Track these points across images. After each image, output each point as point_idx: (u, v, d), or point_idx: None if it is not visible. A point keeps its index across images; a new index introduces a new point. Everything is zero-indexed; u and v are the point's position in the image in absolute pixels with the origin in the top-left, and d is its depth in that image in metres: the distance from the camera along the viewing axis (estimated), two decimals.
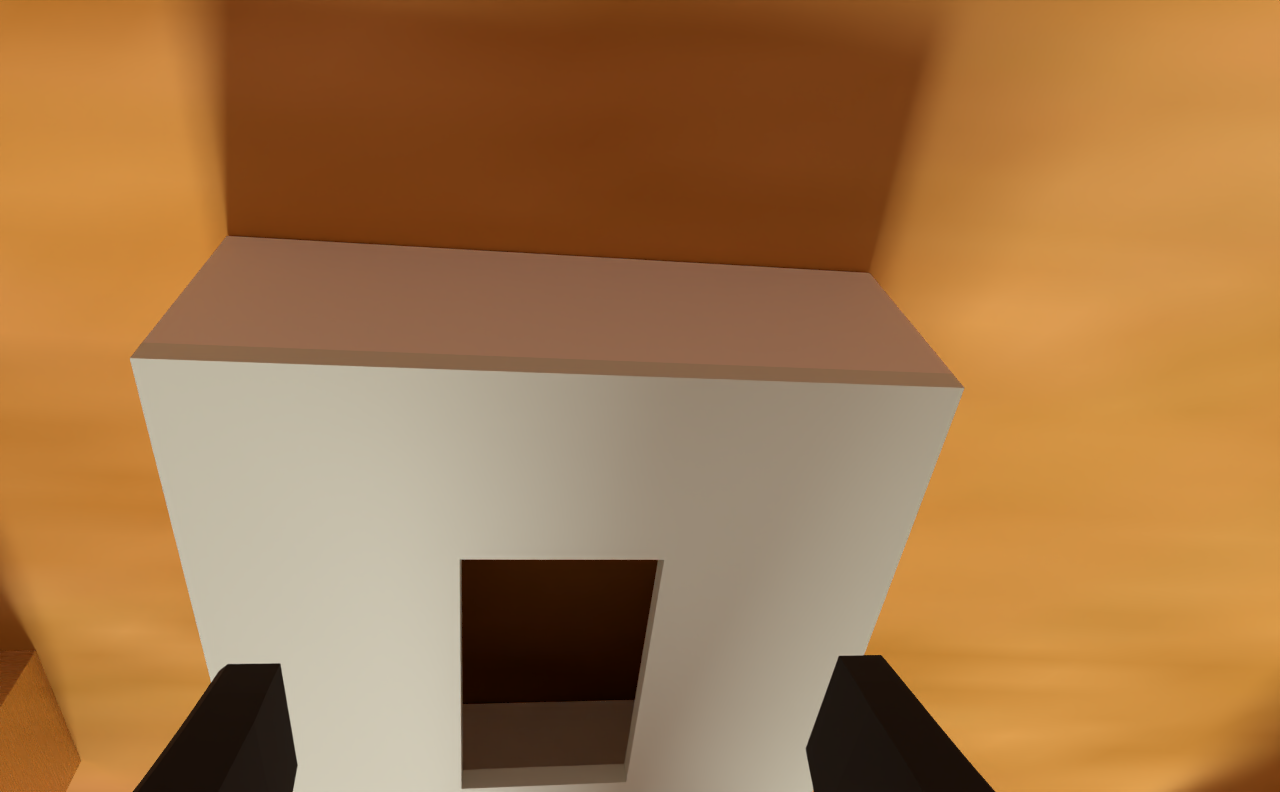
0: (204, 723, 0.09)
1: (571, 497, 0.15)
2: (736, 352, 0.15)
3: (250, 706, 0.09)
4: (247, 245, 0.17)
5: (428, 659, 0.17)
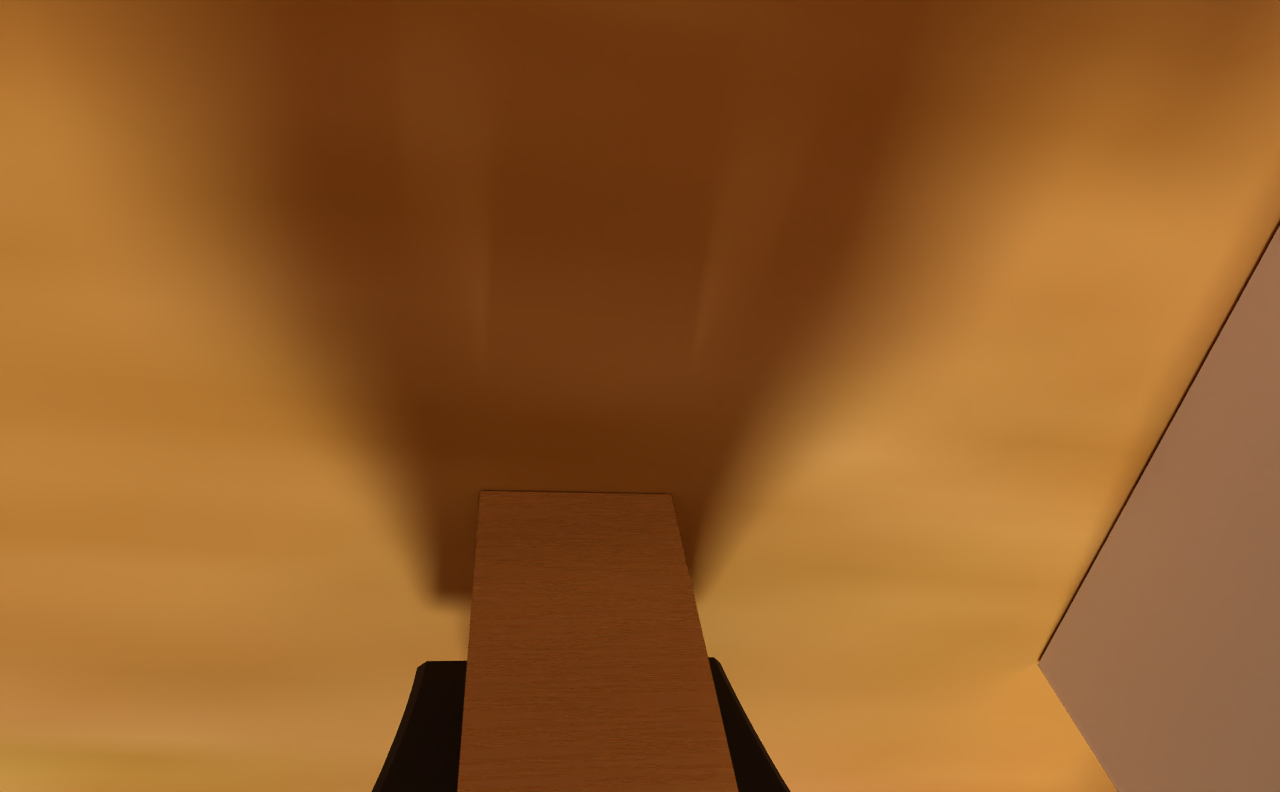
0: (424, 718, 0.09)
1: None
2: None
3: (462, 701, 0.09)
4: None
5: None
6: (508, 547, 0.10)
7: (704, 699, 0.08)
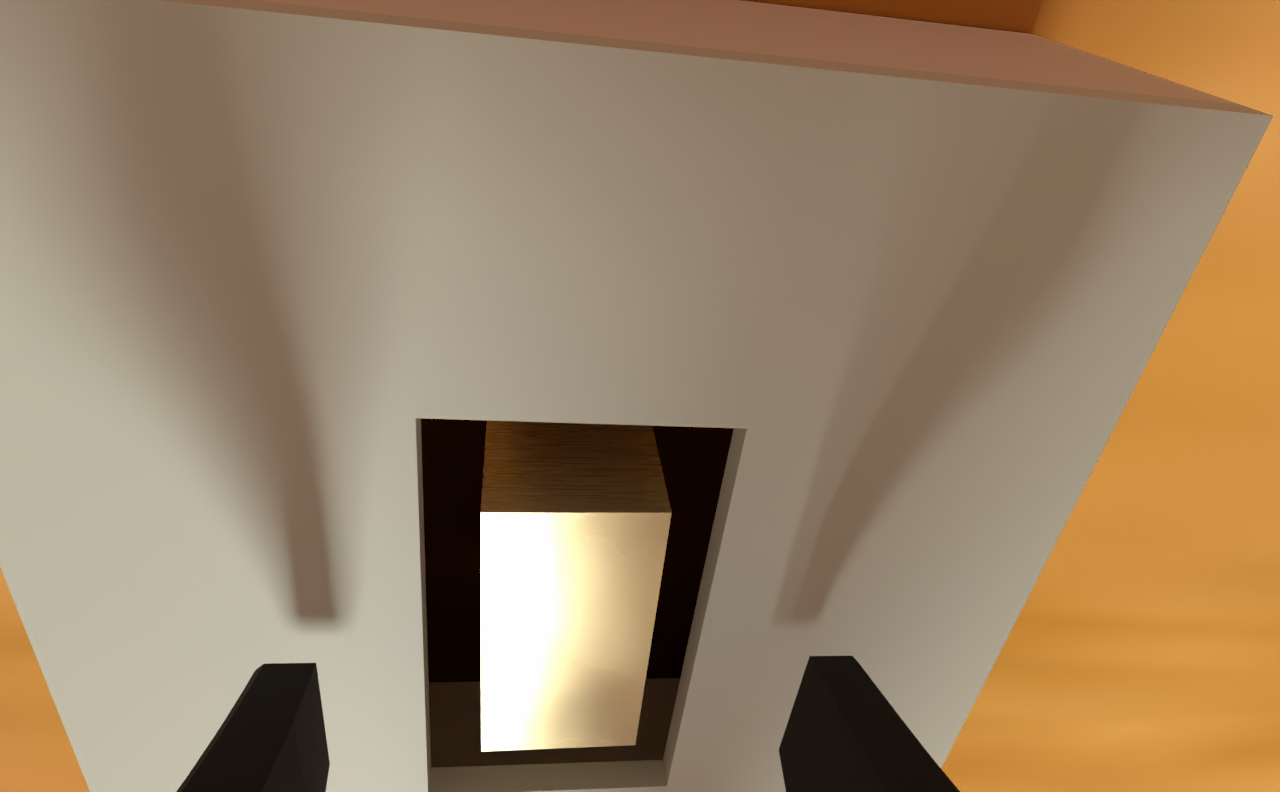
0: (244, 722, 0.09)
1: (601, 306, 0.09)
2: (883, 59, 0.09)
3: (289, 705, 0.09)
4: None
5: (370, 593, 0.11)
6: None
7: (645, 435, 0.12)
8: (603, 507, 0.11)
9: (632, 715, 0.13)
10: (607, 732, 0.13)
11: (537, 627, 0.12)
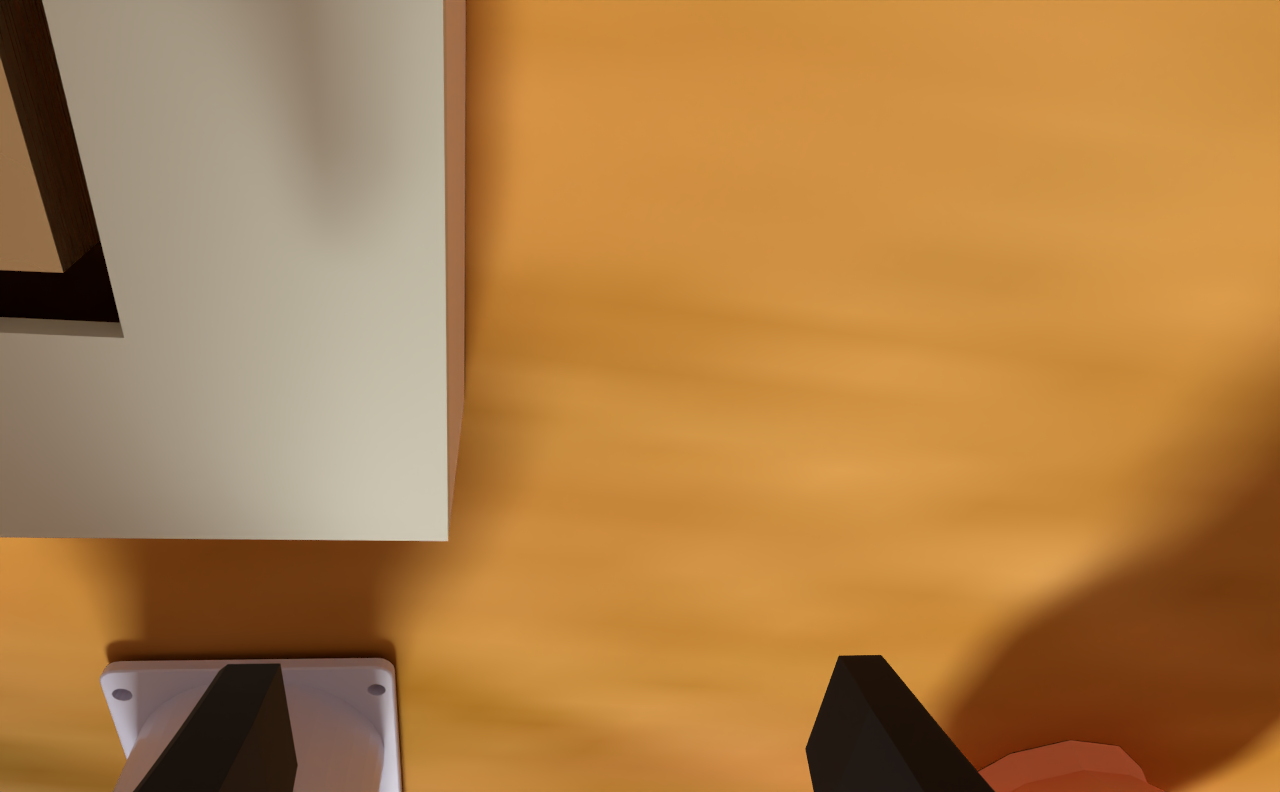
0: (204, 723, 0.09)
1: None
2: None
3: (250, 706, 0.09)
4: None
5: None
6: None
7: None
8: None
9: (39, 223, 0.12)
10: (19, 248, 0.12)
11: None
